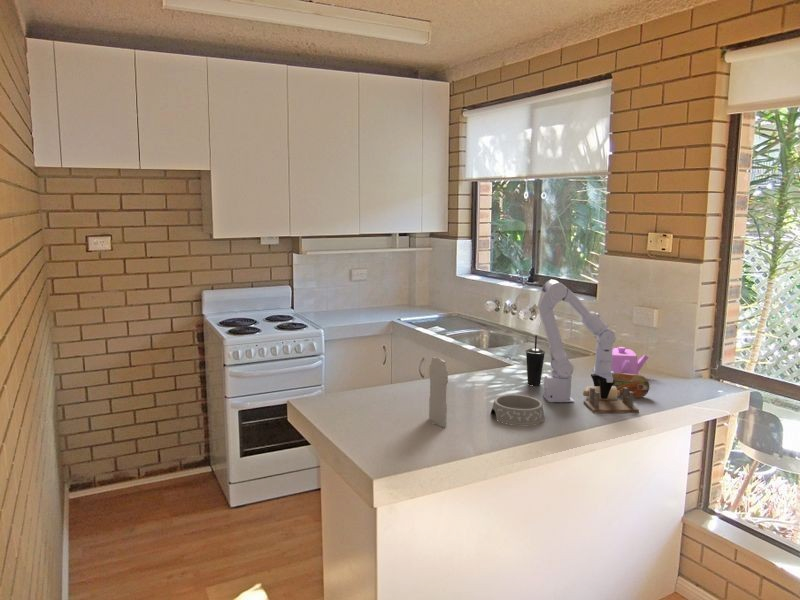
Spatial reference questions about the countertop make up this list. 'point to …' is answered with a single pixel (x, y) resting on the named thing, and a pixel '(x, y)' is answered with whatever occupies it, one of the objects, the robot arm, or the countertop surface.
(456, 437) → the countertop surface
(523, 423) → the dog bowl
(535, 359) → the drinking cup
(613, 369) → the teakettle
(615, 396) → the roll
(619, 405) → the holder
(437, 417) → the dispenser
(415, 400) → the countertop surface
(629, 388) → the tin
